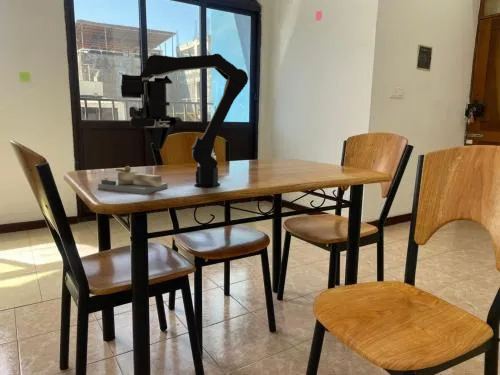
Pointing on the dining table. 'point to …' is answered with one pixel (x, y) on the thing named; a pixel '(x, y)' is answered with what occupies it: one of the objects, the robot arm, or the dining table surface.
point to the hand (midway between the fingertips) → (158, 149)
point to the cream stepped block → (137, 178)
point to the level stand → (129, 187)
